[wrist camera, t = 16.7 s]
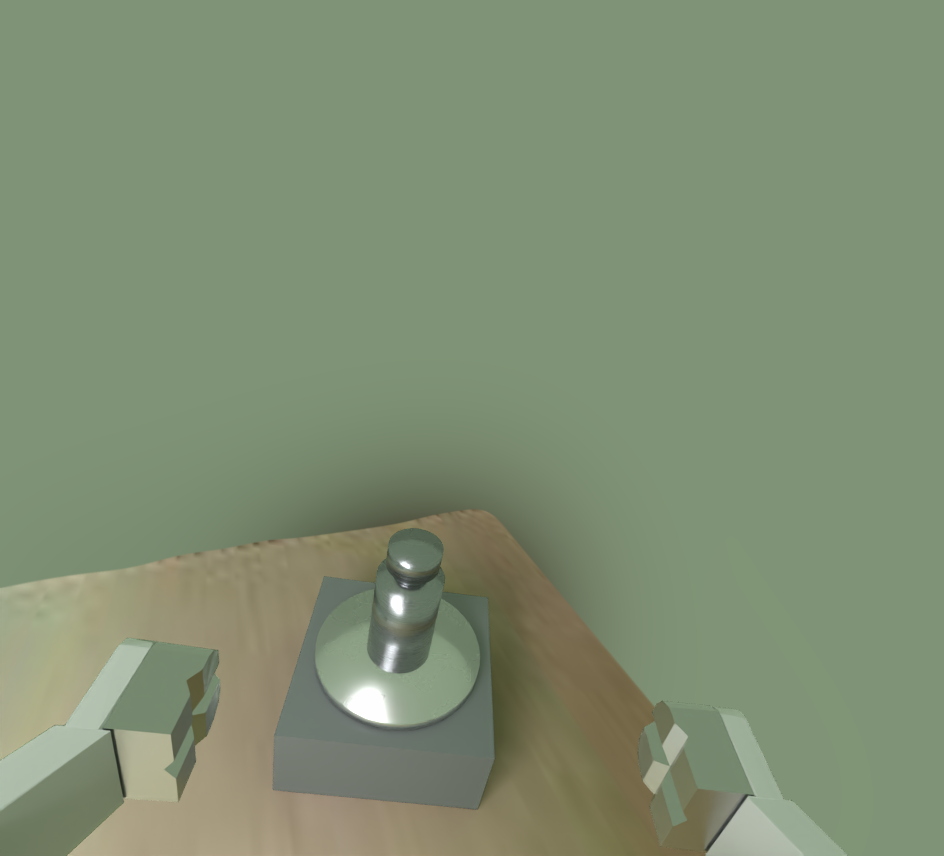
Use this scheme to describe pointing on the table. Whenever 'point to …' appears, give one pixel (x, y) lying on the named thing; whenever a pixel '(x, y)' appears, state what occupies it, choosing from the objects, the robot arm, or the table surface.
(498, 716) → the table surface
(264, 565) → the table surface
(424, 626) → the calibration weight
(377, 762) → the scale base
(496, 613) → the table surface
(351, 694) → the scale pan
